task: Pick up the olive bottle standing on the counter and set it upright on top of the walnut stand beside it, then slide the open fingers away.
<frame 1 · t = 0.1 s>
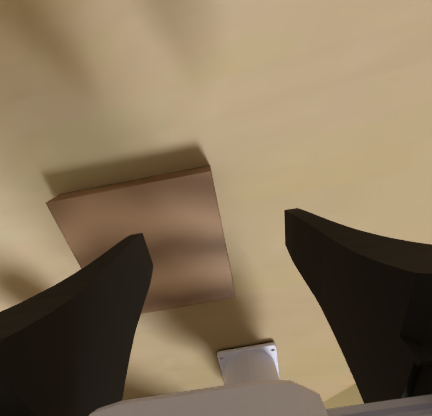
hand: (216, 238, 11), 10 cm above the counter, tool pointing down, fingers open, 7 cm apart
walnut stand: (156, 244, 23), on the counter
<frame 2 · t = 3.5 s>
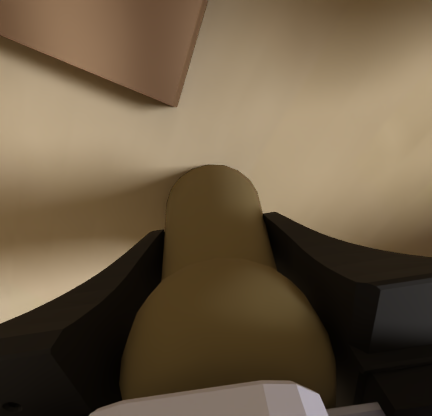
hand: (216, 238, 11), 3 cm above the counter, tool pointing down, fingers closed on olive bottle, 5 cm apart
olive bottle: (213, 209, 14), on the counter, touching gripper
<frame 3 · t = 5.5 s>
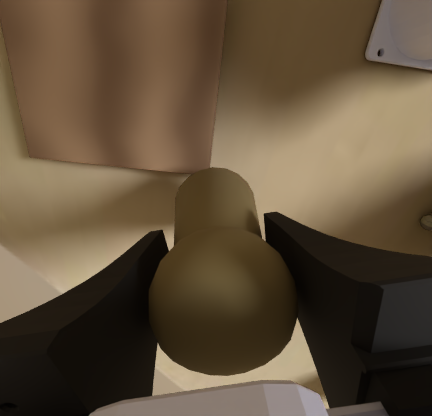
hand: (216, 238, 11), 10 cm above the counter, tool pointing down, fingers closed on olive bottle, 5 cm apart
olive bottle: (215, 206, 17), point 4 cm above the counter, touching gripper
walnut stand: (126, 70, 17), on the counter
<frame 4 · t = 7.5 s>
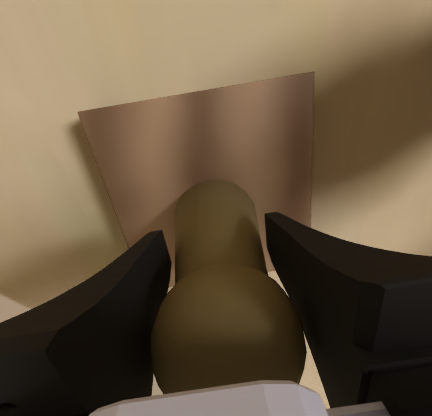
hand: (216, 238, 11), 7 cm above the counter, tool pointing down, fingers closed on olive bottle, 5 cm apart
olive bottle: (215, 218, 16), point 2 cm above the counter, touching gripper, walnut stand
walnut stand: (212, 192, 17), on the counter
when the fingers open (7 cm above the counter, at t = 7.5 s): olive bottle stays where it is, resting on walnut stand.
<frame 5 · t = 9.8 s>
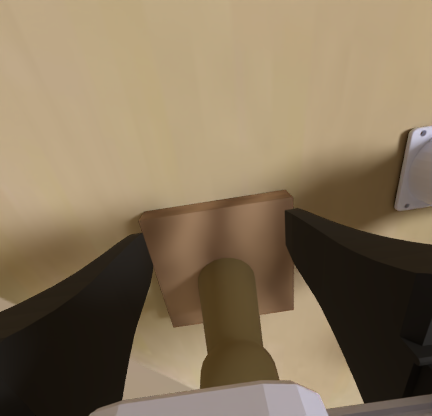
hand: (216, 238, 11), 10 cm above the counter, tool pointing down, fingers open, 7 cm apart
olive bottle: (226, 280, 23), point 2 cm above the counter, touching walnut stand
walnut stand: (223, 258, 24), on the counter
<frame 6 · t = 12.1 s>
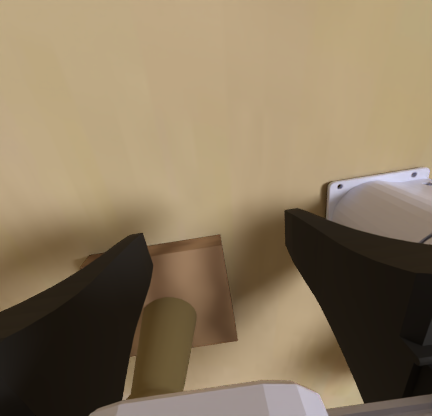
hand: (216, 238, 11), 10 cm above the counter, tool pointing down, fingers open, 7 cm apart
olive bottle: (170, 315, 25), point 2 cm above the counter, touching walnut stand
walnut stand: (170, 294, 26), on the counter
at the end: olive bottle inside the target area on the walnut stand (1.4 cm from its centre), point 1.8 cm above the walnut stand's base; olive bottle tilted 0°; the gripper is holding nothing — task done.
